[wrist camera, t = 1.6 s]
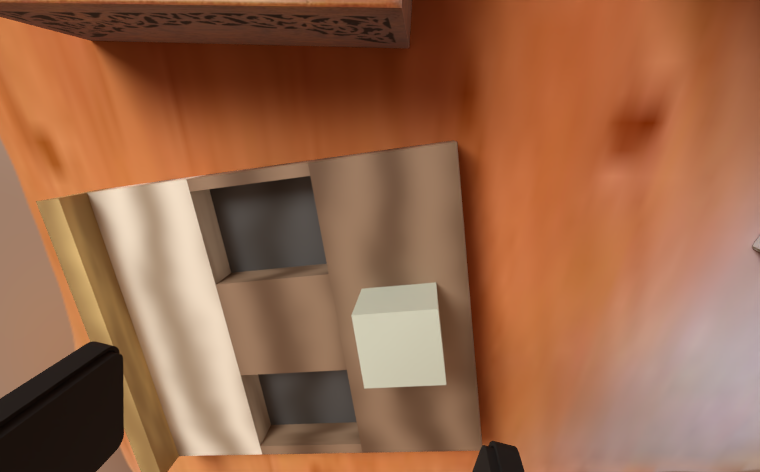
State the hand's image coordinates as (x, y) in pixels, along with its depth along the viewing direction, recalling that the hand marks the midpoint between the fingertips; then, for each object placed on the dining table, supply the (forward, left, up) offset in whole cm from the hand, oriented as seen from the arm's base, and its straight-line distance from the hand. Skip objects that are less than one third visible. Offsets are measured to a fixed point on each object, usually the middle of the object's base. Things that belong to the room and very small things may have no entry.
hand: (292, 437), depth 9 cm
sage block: (-1, +8, -20) cm, 22 cm away
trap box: (+10, +8, -23) cm, 26 cm away
